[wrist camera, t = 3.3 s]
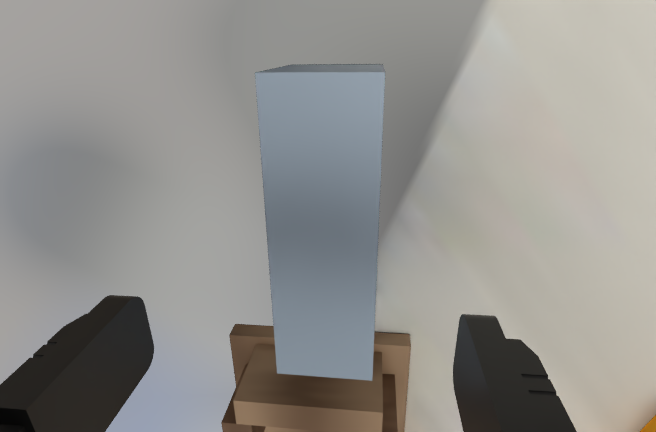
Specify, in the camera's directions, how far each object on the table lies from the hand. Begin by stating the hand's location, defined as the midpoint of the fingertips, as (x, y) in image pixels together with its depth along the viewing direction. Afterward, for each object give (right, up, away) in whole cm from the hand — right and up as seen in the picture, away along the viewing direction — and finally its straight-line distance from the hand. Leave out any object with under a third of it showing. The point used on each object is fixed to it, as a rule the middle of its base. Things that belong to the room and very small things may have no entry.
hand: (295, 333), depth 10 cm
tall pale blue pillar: (+1, +4, +10) cm, 11 cm away
